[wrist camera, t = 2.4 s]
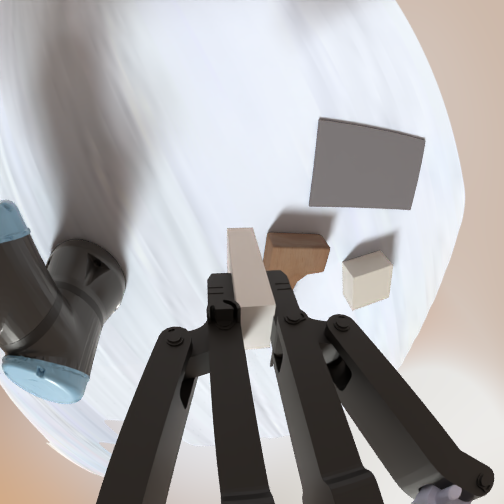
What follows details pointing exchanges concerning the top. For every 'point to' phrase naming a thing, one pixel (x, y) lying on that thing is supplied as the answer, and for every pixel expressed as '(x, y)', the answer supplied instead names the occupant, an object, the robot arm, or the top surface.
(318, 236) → the wooden block
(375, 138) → the charcoal mat
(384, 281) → the smooth beige box
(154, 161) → the top surface
